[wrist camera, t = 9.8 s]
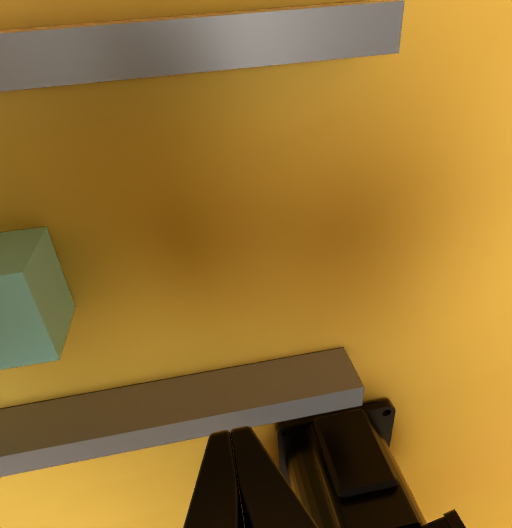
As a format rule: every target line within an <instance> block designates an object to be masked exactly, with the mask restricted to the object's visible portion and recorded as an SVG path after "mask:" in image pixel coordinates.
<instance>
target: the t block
mask: <svg viewBox="0 0 512 528" xmlns="http://www.w3.org/2000/svg"><path fill="white" fill-rule="evenodd" d="M74 309H75V304H74V301H73V298H72V296H71V293H70V290H69V287H68V285H67V282H66V279H65V276H64V273H63V271H62V268H61V265H60V262H59V260H58V257H57V254H56V251H55V249H54V246H53V243H52V240H51V238H50V235H49V232H48V229H47V227H39V228H31V229H24V230H16V231H8V232H0V370H2V369H8V368H14V367H20V366H26V365H32V364H38V363H44V362H50V361H56V360H60V357H61V354H62V350H63V347H64V343H65V340H66V337H67V333H68V330H69V326H70V323H71V319H72V316H73V313H74Z"/></svg>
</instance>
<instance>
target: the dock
mask: <svg viewBox="0 0 512 528" xmlns="http://www.w3.org/2000/svg"><path fill="white" fill-rule="evenodd" d="M403 9H404V1H375V0H365V1H353V2H340V3H328V4H316V5H303V6H291V7H278V8H266V9H254V10H241V11H229V12H216V13H204V14H192V15H179V16H167V17H154V18H142V19H130V20H117V21H105V22H92V23H80V24H68V25H55V26H43V27H30V28H18V29H6V30H0V92H2V91H12V90H23V89H33V88H43V87H54V86H64V85H74V84H85V83H95V82H105V81H116V80H126V79H136V78H147V77H157V76H167V75H178V74H188V73H198V72H209V71H219V70H229V69H240V68H250V67H260V66H271V65H281V64H291V63H302V62H312V61H322V60H333V59H343V58H353V57H364V56H374V55H384V54H395V53H399V47H400V38H401V28H402V18H403ZM363 393H364V386H363V384H362V382H361V380H360V378H359V376H358V374H357V372H356V370H355V368H354V366H353V364H352V362H351V360H350V359H349V357H348V355H347V353H346V351H345V349H344V347H343V348H338V349H332V350H327V351H321V352H315V353H310V354H304V355H299V356H293V357H288V358H282V359H277V360H271V361H265V362H260V363H254V364H249V365H243V366H238V367H232V368H227V369H221V370H215V371H210V372H204V373H199V374H193V375H188V376H182V377H177V378H171V379H165V380H160V381H154V382H149V383H143V384H138V385H132V386H126V387H121V388H115V389H110V390H104V391H99V392H93V393H88V394H82V395H76V396H71V397H65V398H60V399H54V400H49V401H43V402H38V403H32V404H26V405H21V406H15V407H10V408H4V409H0V477H3V476H8V475H13V474H18V473H23V472H28V471H33V470H38V469H43V468H48V467H53V466H58V465H63V464H68V463H73V462H79V461H84V460H89V459H94V458H99V457H104V456H109V455H114V454H119V453H124V452H129V451H134V450H139V449H144V448H149V447H154V446H159V445H165V444H170V443H175V442H180V441H185V440H190V439H195V438H200V437H205V436H210V434H211V433H213V432H217V431H222V430H229V431H231V430H232V429H233V428H238V427H243V426H249V427H256V426H261V425H266V424H271V423H276V422H281V421H286V420H291V419H296V418H301V417H306V416H311V415H316V414H321V413H326V412H331V411H337V410H342V409H347V408H352V407H357V406H362V403H363Z"/></svg>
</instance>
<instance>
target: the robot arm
mask: <svg viewBox="0 0 512 528" xmlns="http://www.w3.org/2000/svg"><path fill="white" fill-rule="evenodd" d="M394 416H395V408H394V406H393V404H392V403H391V402H390V401H380V402H375V403H370V404H365V405H362V406H357V407H352V408H347V409H342V410H337V411H331V412H326V413H321V414H316V415H311V416H306V417H301V418H296V419H291V420H286V421H281V422H279V423H278V424H277V425H276V428H275V430H276V446H277V462H278V467H277V465H276V464H275V462H274V461H273V460H272V458H271V457H270V455H269V454H268V452H267V451H266V449H265V448H264V446H263V445H262V443H261V442H260V440H259V439H258V437H257V436H256V434H255V433H254V431H253V430H252V429H251V427H249V426H243V427H238V428H233V429H232V430H231V434H230V431H229V430H222V431H217V432H213V433H211V434H210V436H209V439H208V442H207V446H206V449H205V453H204V456H203V460H202V464H201V467H200V471H199V474H198V478H197V481H196V485H195V488H194V492H193V495H192V499H191V502H190V506H189V509H188V513H187V516H186V520H185V524H184V527H183V528H466V527H465V526H464V524H463V522H462V521H461V519H460V517H459V516H458V514H457V512H456V511H455V509H454V510H452V511H449V512H447V513H445V514H443V515H444V517H442V518H439V519H437V520H435V521H432V522H430V523H428V524H427V522H426V520H425V518H424V516H423V514H422V512H421V510H420V508H419V506H418V504H417V502H416V500H415V498H414V496H413V495H412V493H411V491H410V489H409V487H408V485H407V483H406V481H405V479H404V477H403V475H402V473H401V471H400V469H399V467H398V465H397V463H396V461H395V459H394V457H393V455H392V453H391V451H390V449H389V446H390V440H391V434H392V428H393V422H394ZM231 439H232V441H231ZM232 446H233V447H232ZM233 452H234V454H233ZM234 459H235V460H234ZM235 465H236V467H235ZM236 472H237V473H236ZM237 478H238V480H237ZM238 485H239V486H238ZM239 491H240V493H239ZM240 498H241V499H240ZM241 504H242V506H241ZM242 511H243V512H242ZM243 517H244V519H243ZM244 524H245V526H244Z"/></svg>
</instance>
